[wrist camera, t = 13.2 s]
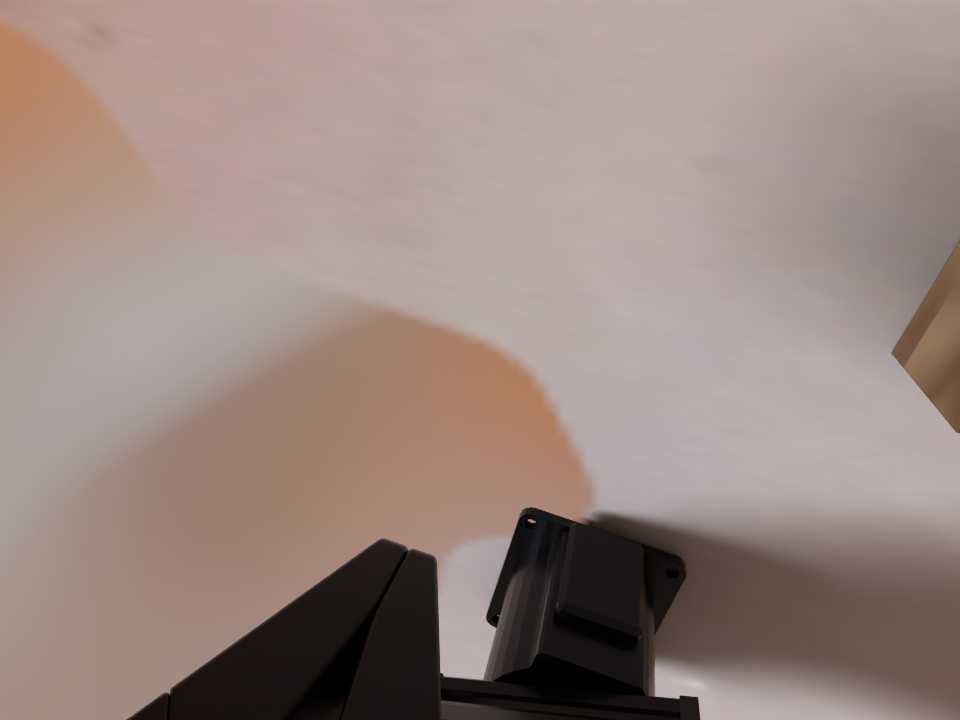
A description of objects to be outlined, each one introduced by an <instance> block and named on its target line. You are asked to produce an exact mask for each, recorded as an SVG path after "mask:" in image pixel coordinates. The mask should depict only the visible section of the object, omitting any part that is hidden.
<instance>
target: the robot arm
mask: <svg viewBox="0 0 960 720" xmlns="http://www.w3.org/2000/svg"><path fill="white" fill-rule="evenodd" d="M528 519H532V520H534V521H536V523H530V522H529V521H528ZM668 568H675V569H677V570H674V571H672V570H668ZM685 578H686V565H685V562H684V561H683V560H682V559H681V558H680V557H678V556H675V555H672V554H669V553H666V552H663V551H660V550H657V549H654V548H652V547H649V546H646V545H643V544H640V543H637V542H634V541H631V540H628V539H625V538H622V537H619V536H616V535H613V534H610V533H607V532H604V531H601V530H599V529H596V528H593V527H590V526H587V525H584V524H581V523H578V522H575V521H572V520H569V519H566V518H563V517H560V516H557V515H554V514H551V513H548V512H545V511H542V510H539V509H536V508H532V507H531V508H526V509H524V510H522V512H521V513H520V516H519V519H518V522H517V525H516V528H515V531H514V534H513V537H512V540H511V543H510V546H509V549H508V552H507V555H506V558H505V561H504V564H503V567H502V570H501V573H500V576H499V579H498V582H497V585H496V588H495V590H494V593H493V596H492V599H491V602H490V605H489V608H488V612H487V615H486V619H487V621H488V623H489V624H490V625H492V626H494V627H496V628H497V629H496V633H495V637H494V641H493V645H492V649H491V652H490V656H489V660H488V664H487V668H486V672H485V675H484V679H483V680H476V679H466V678H455V677H445V676H444V675H443V673H440V648H439V615H438V582H437V560H436V558H435V556H433V555H430V554H427V553H425V552H422V551H418V550H416V549H410V550H409V551H408V549H407V547H406V546H404V545H402V544H399V543H396V542H393V541H390V540H388V539H380V540H378V541H376V542H375V543H374V544H373V545H371V546H369V547H368V548H367V549H365V550H364V551H362V552H361V553H360V554H358V555H357V556H356V557H354V558H353V559H351V560H350V561H348V562H347V563H346V564H344V565H343V566H341V567H340V568H339V569H337V570H336V571H335V572H333V573H332V574H330V575H329V576H327V577H326V578H325V579H323V580H322V581H320V582H319V583H318V584H316V585H315V586H314V587H312V588H311V589H309V590H308V591H306V592H305V593H304V594H302V595H301V596H299V597H298V598H297V599H295V600H294V601H292V602H291V603H290V604H288V605H287V606H285V607H284V608H283V609H281V610H280V611H279V612H277V613H276V614H274V615H273V616H272V617H270V618H269V619H267V620H266V621H265V622H263V623H262V624H260V625H259V626H258V627H256V628H255V629H253V630H252V631H251V632H249V633H248V634H246V635H245V636H244V637H242V638H241V639H239V640H238V641H237V642H235V643H234V644H232V645H231V646H230V647H228V648H227V649H225V650H224V651H223V652H221V653H220V654H218V655H217V656H216V657H214V658H213V659H211V660H210V661H209V662H207V663H206V664H204V665H203V666H202V667H200V668H199V669H198V670H196V671H195V672H193V673H192V674H190V675H189V676H188V677H186V678H185V679H183V680H182V681H181V682H179V683H178V684H176V685H175V686H174V687H172V688H171V690H170V695H169V693H163V694H162V695H160V696H159V697H158V698H156V699H155V700H154V701H152V702H151V703H149V704H148V705H147V706H145V707H144V708H142V709H141V710H140V711H138V712H137V713H135V714H134V715H133V716H131V717H130V718H128V719H127V720H700V713H699V703H698V697H690V696H680V699H675V698H664V697H655V658H654V635H655V633H656V631H657V629H658V628H659V626H660V624H661V622H662V620H663V618H664V617H665V615H666V613H667V611H668V609H669V607H670V605H671V604H672V602H673V600H674V598H675V596H676V594H677V592H678V591H679V589H680V587H681V585H682V583H683V581H684V579H685ZM497 615H499V616H497Z"/></svg>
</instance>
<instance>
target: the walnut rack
mask: <svg viewBox="0 0 960 720" xmlns="http://www.w3.org/2000/svg"><path fill="white" fill-rule="evenodd" d="M892 354H893V356H894V357H895V358H896V359H897V361H898V362H899V363H900V364H901V365H902V367H903V368H904V369H905V370H906V372H907V373H908V374H909V375H910V376H911V378H912V379H913V380H914V381H915V382H916V384H917V385H918V386H919V387H920V389H921V390H922V391H923V392H924V393H925V395H926V396H927V397H928V398H929V400H930V401H931V402H932V403H933V404H934V406H935V407H936V408H937V409H938V411H939V412H940V413H941V414H942V415H943V417H944V418H945V419H946V420H947V421H948V423H949V424H950V425H951V426H952V428H953V429H954V430H955V431H956V432H957V433H960V242H959V244H958V245H957V247H956V249H955V250H954V252H953V253H952V255H951V257H950V258H949V260H948V262H947V263H946V265H945V266H944V268H943V270H942V271H941V273H940V275H939V276H938V278H937V279H936V281H935V283H934V284H933V286H932V288H931V289H930V291H929V293H928V294H927V296H926V297H925V299H924V301H923V302H922V304H921V306H920V307H919V309H918V310H917V312H916V314H915V315H914V317H913V319H912V320H911V322H910V323H909V325H908V327H907V328H906V330H905V332H904V333H903V335H902V336H901V338H900V340H899V341H898V343H897V345H896V346H895V348H894V350H893V351H892Z"/></svg>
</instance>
